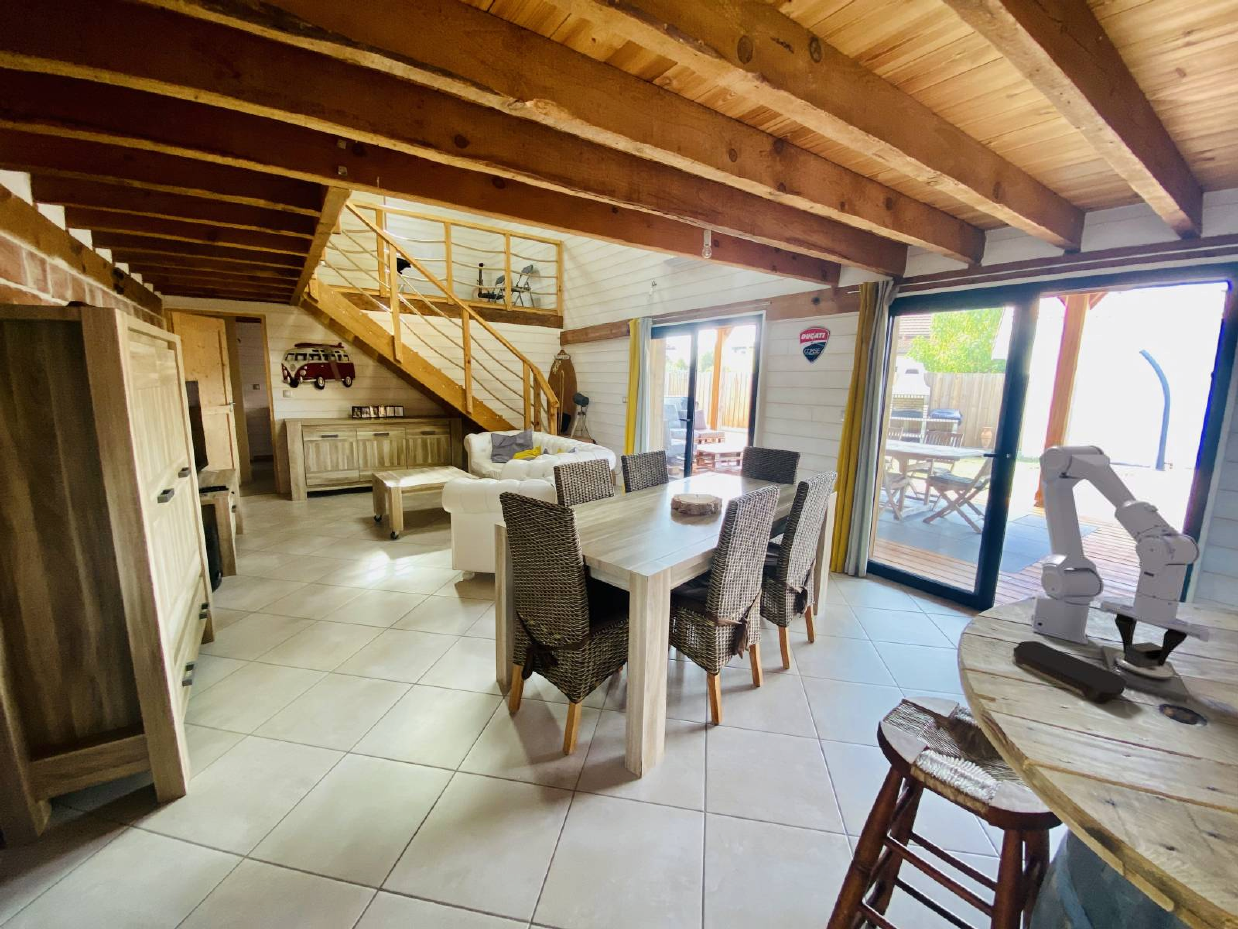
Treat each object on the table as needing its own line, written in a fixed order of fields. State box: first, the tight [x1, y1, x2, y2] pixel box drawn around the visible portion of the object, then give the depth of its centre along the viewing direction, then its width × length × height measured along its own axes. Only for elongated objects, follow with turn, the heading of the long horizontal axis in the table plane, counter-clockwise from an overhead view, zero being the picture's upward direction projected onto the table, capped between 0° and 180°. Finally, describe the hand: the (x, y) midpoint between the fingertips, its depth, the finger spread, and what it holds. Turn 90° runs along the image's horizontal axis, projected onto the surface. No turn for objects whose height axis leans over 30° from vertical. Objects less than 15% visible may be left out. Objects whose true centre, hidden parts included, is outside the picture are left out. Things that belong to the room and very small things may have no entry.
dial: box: [1114, 641, 1173, 679], centre depth 96 cm, size 8×8×4 cm
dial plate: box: [1100, 644, 1190, 704], centre depth 96 cm, size 10×14×2 cm
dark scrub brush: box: [1011, 640, 1127, 704], centre depth 95 cm, size 16×8×4 cm, turn 22°
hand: (1143, 658), depth 96 cm, fingers closed on dial, 4 cm apart
